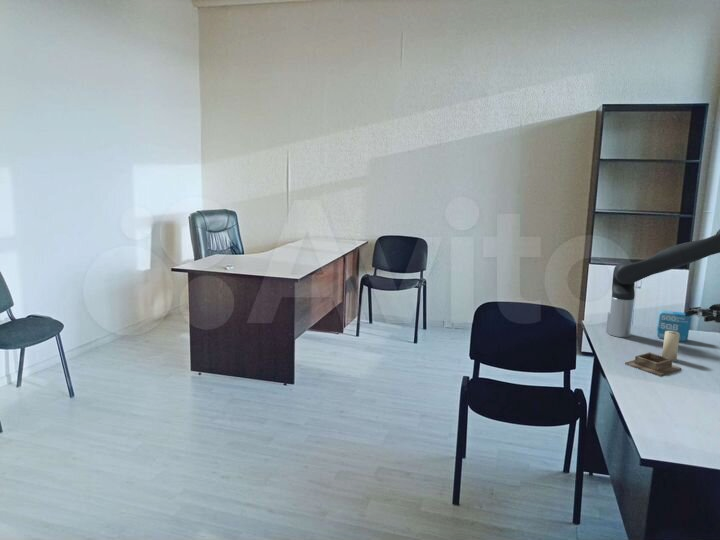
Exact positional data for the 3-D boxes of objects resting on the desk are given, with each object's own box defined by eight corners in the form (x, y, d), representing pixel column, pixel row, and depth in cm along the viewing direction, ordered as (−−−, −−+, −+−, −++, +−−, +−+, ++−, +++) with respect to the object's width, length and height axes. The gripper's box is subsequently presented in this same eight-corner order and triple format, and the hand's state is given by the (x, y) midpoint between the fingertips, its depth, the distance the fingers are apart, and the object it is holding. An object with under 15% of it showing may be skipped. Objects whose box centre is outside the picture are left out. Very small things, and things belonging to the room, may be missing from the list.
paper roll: (658, 358, 225) (662, 331, 223) (666, 356, 227) (669, 329, 225) (671, 362, 220) (675, 335, 218) (679, 360, 223) (682, 333, 221)
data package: (656, 338, 250) (660, 312, 248) (655, 335, 255) (659, 309, 252) (687, 342, 246) (691, 315, 243) (686, 339, 250) (689, 313, 247)
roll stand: (624, 364, 218) (625, 355, 217) (646, 358, 225) (647, 349, 224) (659, 376, 206) (660, 367, 205) (681, 369, 213) (682, 360, 212)
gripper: (709, 299, 236) (680, 303, 230) (742, 307, 223) (713, 311, 217) (706, 316, 237) (678, 320, 232) (739, 326, 224) (710, 330, 219)
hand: (695, 316), depth 224 cm, fingers open, 8 cm apart
